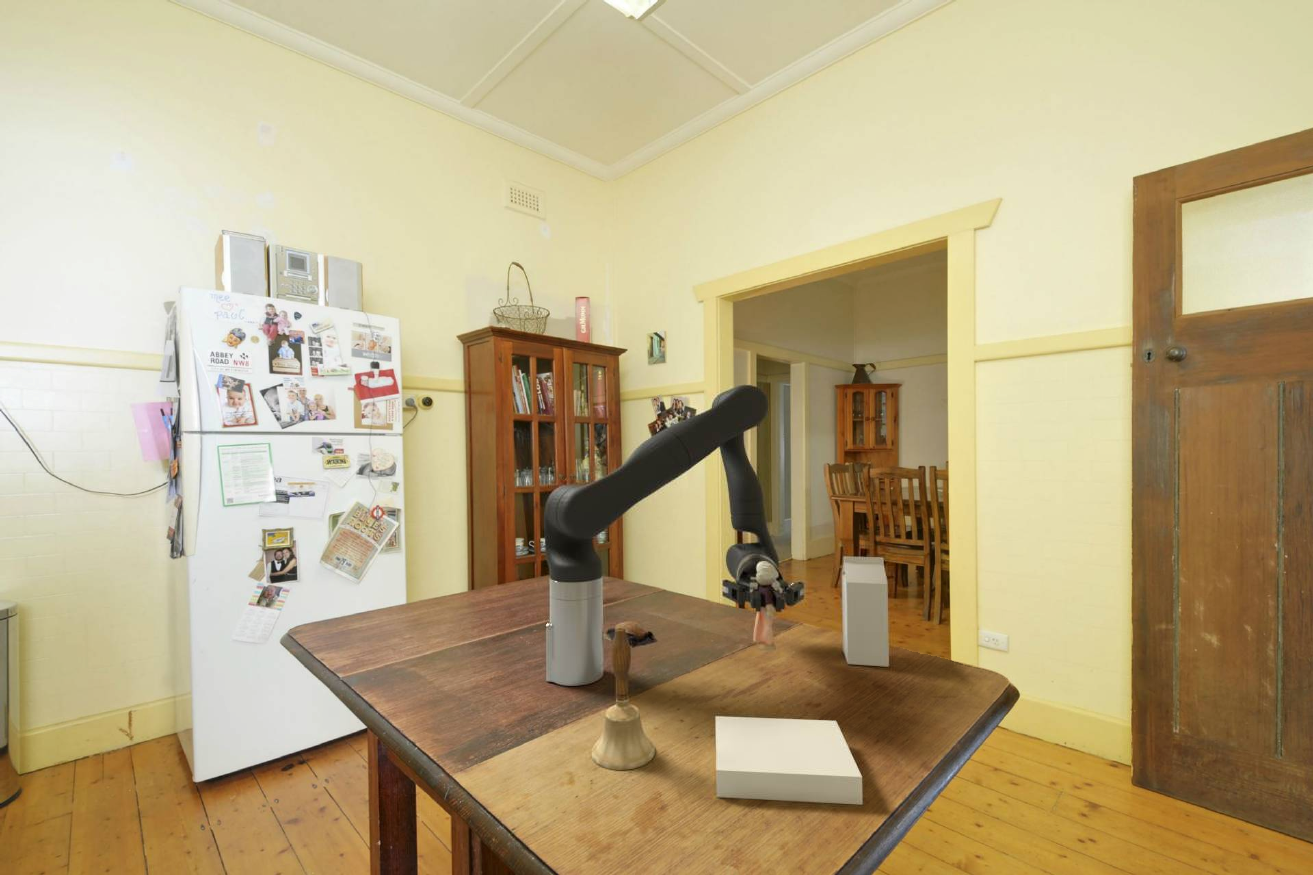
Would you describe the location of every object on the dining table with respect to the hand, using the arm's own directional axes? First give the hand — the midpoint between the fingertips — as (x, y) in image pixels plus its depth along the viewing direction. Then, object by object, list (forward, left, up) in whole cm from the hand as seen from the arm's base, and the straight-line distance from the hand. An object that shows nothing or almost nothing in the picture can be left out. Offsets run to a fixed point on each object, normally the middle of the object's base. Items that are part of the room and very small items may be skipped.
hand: (768, 604), depth 82 cm
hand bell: (-20, -10, -17) cm, 28 cm away
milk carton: (+20, +26, -17) cm, 37 cm away
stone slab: (0, -12, -17) cm, 21 cm away
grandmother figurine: (0, +3, -7) cm, 8 cm away
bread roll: (-26, +35, -18) cm, 47 cm away
